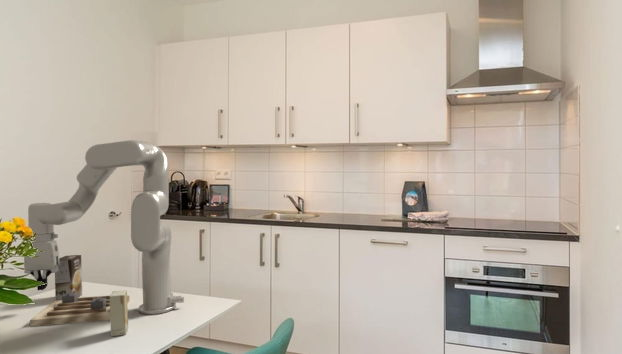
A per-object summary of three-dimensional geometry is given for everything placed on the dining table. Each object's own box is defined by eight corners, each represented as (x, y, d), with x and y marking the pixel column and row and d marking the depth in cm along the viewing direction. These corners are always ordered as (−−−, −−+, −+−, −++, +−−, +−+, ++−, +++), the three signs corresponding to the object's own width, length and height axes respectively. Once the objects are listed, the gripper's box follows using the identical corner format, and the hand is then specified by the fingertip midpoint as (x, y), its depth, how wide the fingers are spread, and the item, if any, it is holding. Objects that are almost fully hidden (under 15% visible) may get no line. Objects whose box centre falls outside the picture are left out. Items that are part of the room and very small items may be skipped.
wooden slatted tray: (129, 300, 163) (129, 292, 163) (115, 319, 143) (115, 310, 143) (54, 306, 158) (54, 298, 158) (30, 326, 139) (29, 317, 138)
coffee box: (72, 301, 163) (71, 259, 163) (55, 302, 163) (53, 260, 162) (82, 294, 172) (81, 254, 172) (66, 295, 172) (64, 255, 171)
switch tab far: (77, 300, 157) (77, 291, 157) (74, 304, 153) (74, 294, 153) (66, 301, 156) (65, 291, 156) (62, 304, 152) (61, 294, 152)
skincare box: (126, 335, 130) (124, 295, 130) (110, 337, 129) (109, 296, 128) (128, 327, 136) (127, 289, 136) (113, 329, 135) (112, 290, 135)
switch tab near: (106, 306, 150) (105, 296, 150) (103, 309, 147) (102, 299, 146) (93, 307, 149) (93, 296, 149) (90, 310, 146) (90, 300, 146)
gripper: (68, 235, 157) (68, 285, 158) (22, 236, 154) (23, 287, 155) (60, 239, 150) (60, 291, 150) (12, 240, 147) (13, 293, 148)
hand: (41, 289), depth 153 cm, fingers closed
